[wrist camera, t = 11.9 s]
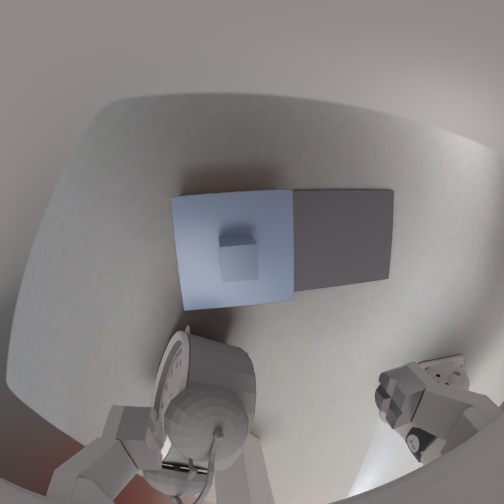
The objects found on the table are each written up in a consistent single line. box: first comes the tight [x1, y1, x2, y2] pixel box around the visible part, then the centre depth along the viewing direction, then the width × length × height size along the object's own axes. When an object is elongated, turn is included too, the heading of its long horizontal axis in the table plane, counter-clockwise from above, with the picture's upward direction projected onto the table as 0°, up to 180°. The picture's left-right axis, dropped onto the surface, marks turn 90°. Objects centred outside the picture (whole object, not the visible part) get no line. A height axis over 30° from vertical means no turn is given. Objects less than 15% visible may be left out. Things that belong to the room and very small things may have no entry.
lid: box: [171, 189, 294, 311], centre depth 26 cm, size 11×11×5 cm
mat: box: [293, 190, 394, 291], centre depth 34 cm, size 14×12×1 cm
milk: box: [214, 433, 275, 504], centre depth 31 cm, size 6×6×22 cm
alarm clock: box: [143, 325, 256, 504], centre depth 26 cm, size 16×9×22 cm, turn 154°
